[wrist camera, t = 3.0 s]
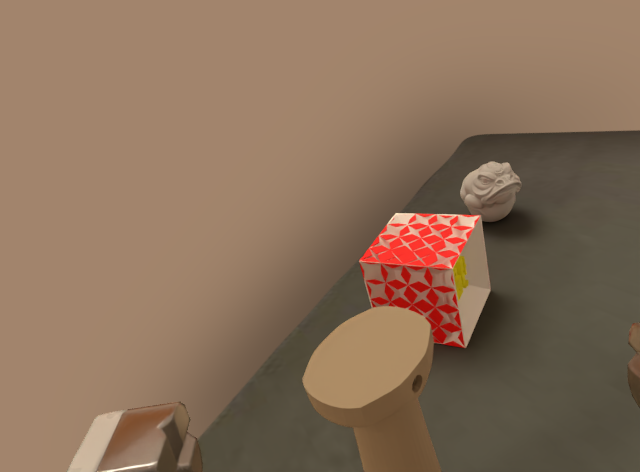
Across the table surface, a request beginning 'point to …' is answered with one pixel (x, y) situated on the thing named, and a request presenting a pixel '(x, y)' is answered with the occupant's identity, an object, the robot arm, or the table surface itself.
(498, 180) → the frog figurine
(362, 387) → the handle
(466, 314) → the red and white cube
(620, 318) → the table surface
